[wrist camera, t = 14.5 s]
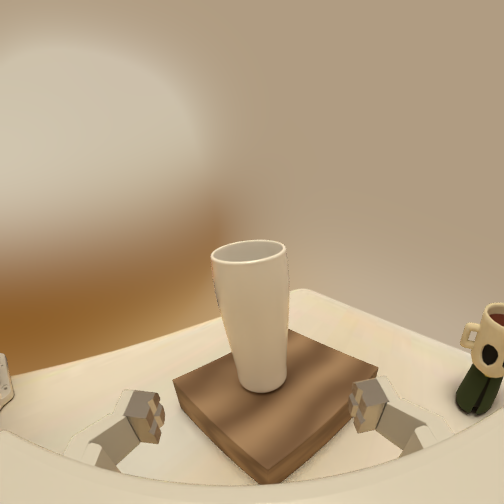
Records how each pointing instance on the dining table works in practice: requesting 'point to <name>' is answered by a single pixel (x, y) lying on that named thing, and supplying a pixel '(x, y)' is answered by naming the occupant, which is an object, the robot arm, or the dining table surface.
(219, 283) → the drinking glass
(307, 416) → the walnut riser dock
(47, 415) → the dining table surface
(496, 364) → the character mug
